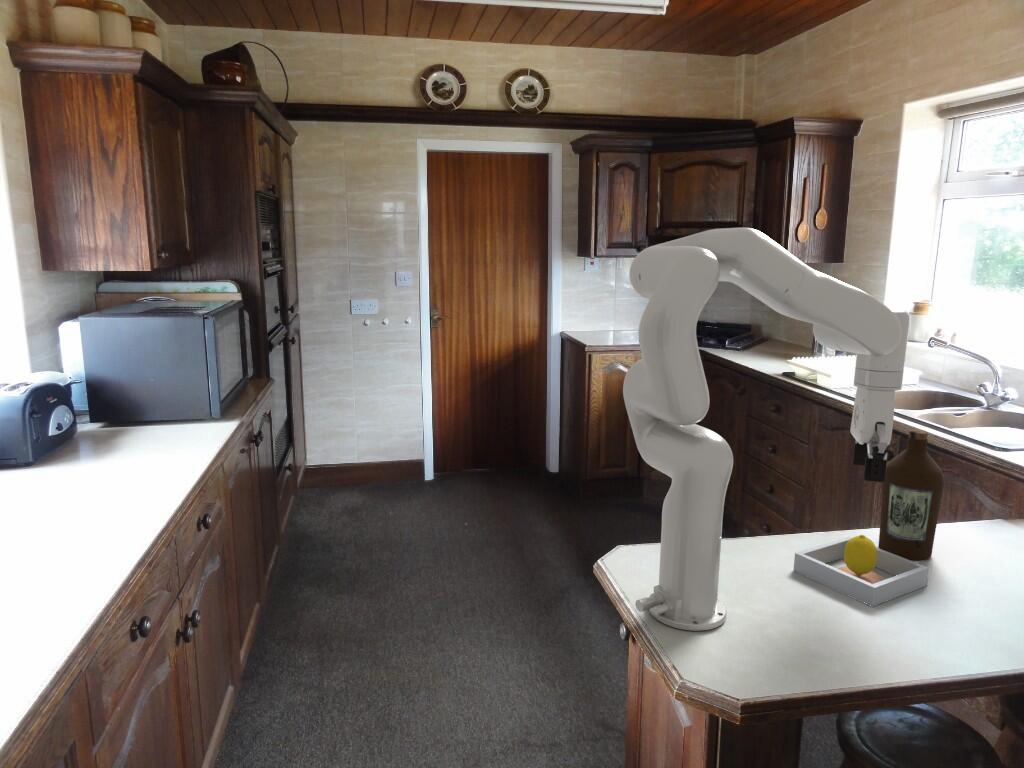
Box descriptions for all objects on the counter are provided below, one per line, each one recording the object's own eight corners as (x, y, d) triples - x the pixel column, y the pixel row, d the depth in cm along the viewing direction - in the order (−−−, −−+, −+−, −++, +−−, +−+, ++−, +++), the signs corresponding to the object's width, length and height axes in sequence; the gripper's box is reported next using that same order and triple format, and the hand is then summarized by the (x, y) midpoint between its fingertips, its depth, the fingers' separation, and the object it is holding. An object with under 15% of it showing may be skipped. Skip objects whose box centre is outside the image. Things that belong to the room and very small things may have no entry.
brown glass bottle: (878, 536, 149) (890, 422, 145) (936, 548, 144) (951, 429, 139) (871, 554, 140) (885, 433, 136) (933, 567, 135) (949, 441, 130)
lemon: (868, 585, 126) (872, 543, 125) (837, 575, 130) (840, 534, 129) (879, 576, 130) (884, 535, 128) (849, 566, 134) (852, 527, 132)
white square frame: (872, 607, 119) (874, 587, 119) (793, 570, 133) (795, 552, 132) (926, 585, 127) (929, 567, 127) (847, 553, 141) (848, 536, 140)
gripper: (845, 370, 132) (836, 457, 136) (865, 386, 116) (854, 485, 119) (889, 372, 131) (879, 461, 134) (915, 389, 114) (903, 489, 117)
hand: (867, 472), depth 126 cm, fingers open, 9 cm apart
